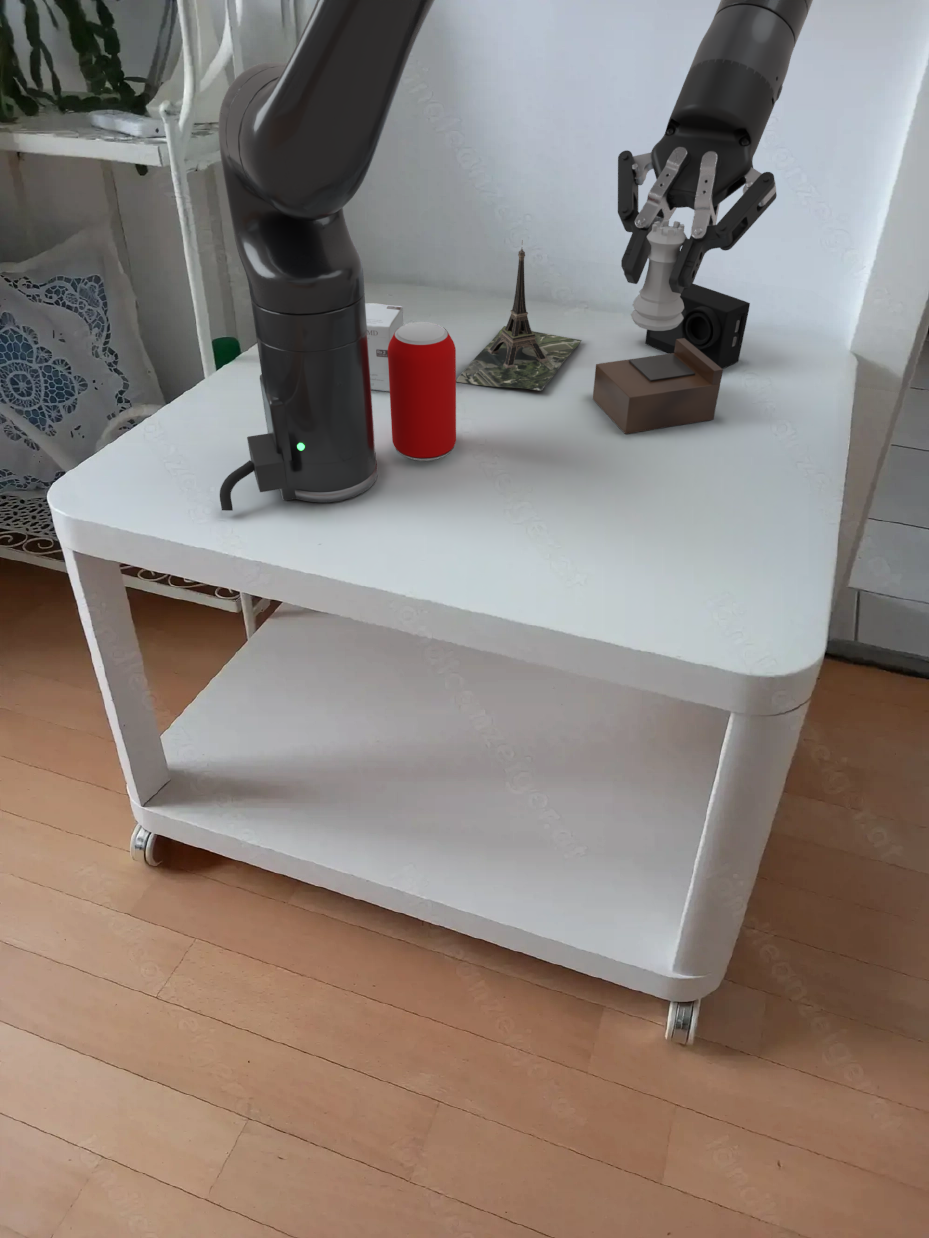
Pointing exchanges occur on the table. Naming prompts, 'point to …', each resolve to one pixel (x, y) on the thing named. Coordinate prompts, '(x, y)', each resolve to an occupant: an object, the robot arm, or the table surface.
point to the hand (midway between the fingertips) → (652, 282)
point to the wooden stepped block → (659, 389)
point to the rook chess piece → (660, 280)
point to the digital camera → (707, 325)
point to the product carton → (381, 340)
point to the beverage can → (422, 391)
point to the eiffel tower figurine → (519, 351)
